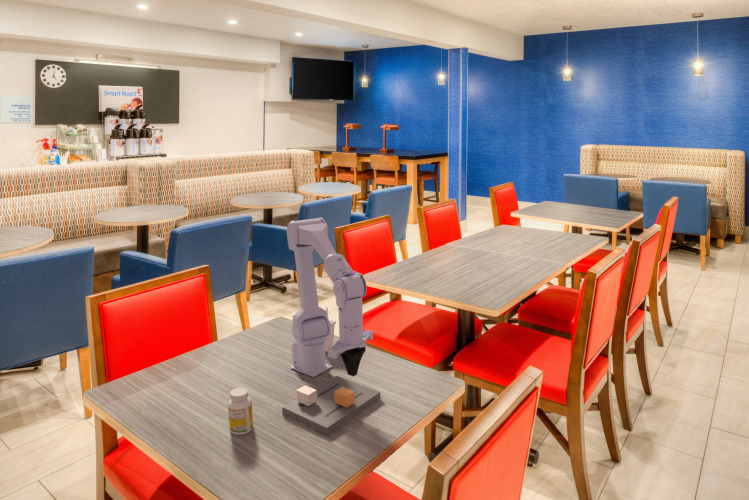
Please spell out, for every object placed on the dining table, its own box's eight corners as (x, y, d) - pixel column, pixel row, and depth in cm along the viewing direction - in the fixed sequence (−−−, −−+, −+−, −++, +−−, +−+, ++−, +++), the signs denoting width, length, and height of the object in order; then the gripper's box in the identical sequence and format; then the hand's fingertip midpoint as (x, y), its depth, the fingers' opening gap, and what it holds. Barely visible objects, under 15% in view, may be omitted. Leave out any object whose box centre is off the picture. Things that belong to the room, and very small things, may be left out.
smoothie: (333, 354, 161) (332, 311, 158) (313, 352, 163) (311, 310, 159) (339, 345, 168) (337, 304, 164) (319, 344, 169) (318, 303, 165)
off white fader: (297, 401, 130) (296, 390, 130) (305, 396, 133) (305, 385, 132) (308, 406, 128) (308, 395, 127) (317, 401, 130) (316, 390, 129)
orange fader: (334, 402, 129) (334, 391, 129) (342, 397, 132) (342, 386, 131) (346, 407, 127) (346, 396, 126) (354, 402, 129) (354, 391, 128)
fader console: (282, 414, 129) (282, 406, 129) (337, 382, 144) (336, 375, 144) (327, 435, 120) (327, 427, 120) (380, 399, 135) (380, 392, 135)
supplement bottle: (239, 438, 120) (235, 400, 117) (225, 429, 123) (221, 392, 121) (258, 427, 124) (255, 391, 121) (244, 420, 127) (241, 383, 125)
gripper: (343, 337, 119) (345, 390, 123) (382, 317, 130) (382, 367, 134) (320, 329, 124) (323, 382, 127) (360, 311, 135) (361, 360, 138)
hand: (352, 374), depth 131 cm, fingers closed
